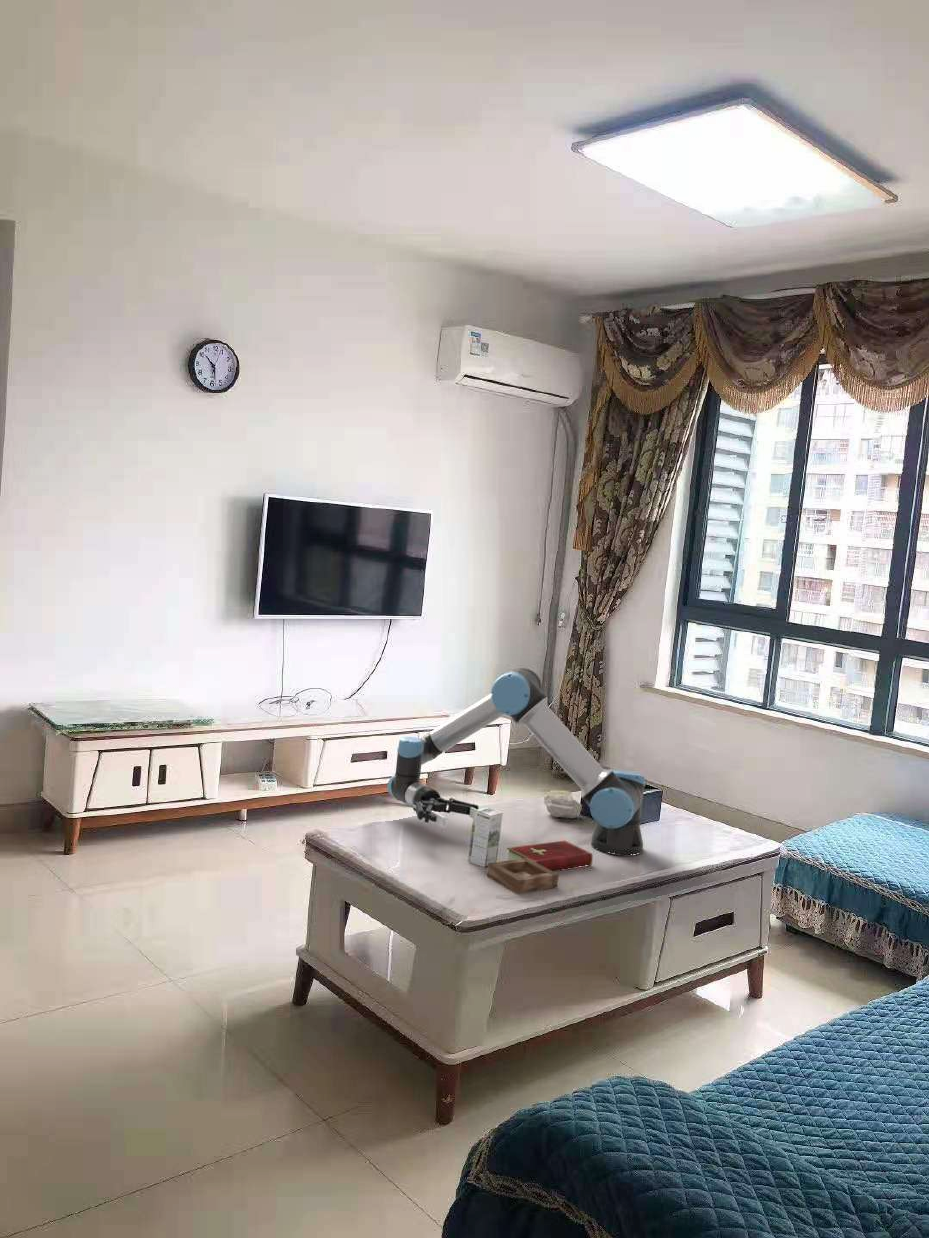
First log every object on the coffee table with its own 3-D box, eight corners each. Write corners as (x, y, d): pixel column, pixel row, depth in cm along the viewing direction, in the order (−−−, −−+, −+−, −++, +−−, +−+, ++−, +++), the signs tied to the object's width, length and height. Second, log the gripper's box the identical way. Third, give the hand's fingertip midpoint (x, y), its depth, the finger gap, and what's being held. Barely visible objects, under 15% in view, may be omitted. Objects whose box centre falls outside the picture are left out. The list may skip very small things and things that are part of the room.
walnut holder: (525, 870, 274) (527, 857, 274) (557, 887, 264) (558, 874, 263) (486, 876, 267) (488, 863, 266) (517, 893, 256) (519, 880, 256)
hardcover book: (591, 867, 284) (593, 852, 284) (532, 876, 272) (534, 860, 271) (563, 853, 294) (565, 839, 293) (505, 861, 282) (507, 846, 281)
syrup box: (479, 857, 281) (485, 806, 280) (497, 863, 278) (503, 811, 276) (467, 861, 276) (473, 809, 275) (485, 868, 273) (491, 815, 272)
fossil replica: (585, 820, 329) (566, 814, 337) (589, 795, 329) (569, 789, 337) (556, 820, 322) (537, 813, 330) (559, 794, 322) (540, 788, 331)
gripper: (456, 807, 309) (498, 829, 292) (385, 814, 294) (425, 837, 277) (459, 783, 308) (501, 804, 291) (388, 788, 294) (428, 810, 277)
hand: (464, 820), depth 284 cm, fingers open, 13 cm apart
